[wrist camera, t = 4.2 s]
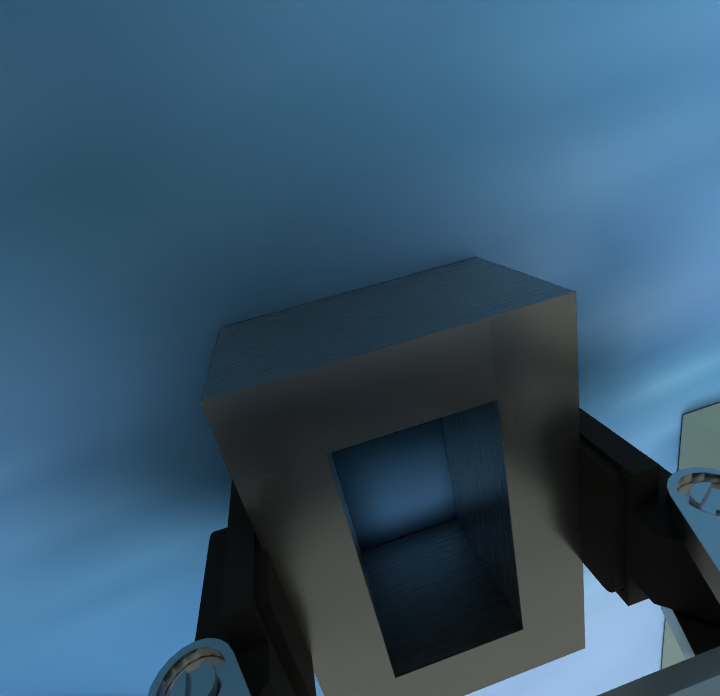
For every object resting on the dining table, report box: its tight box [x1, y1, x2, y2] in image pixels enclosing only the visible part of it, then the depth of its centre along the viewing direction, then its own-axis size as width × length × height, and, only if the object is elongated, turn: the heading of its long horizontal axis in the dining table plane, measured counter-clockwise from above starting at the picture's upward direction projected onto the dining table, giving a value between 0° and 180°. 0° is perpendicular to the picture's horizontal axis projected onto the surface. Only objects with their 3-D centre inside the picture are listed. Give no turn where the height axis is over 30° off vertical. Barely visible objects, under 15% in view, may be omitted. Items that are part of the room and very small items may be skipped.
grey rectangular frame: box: [200, 257, 585, 696], centre depth 10 cm, size 9×6×4 cm, turn 13°
